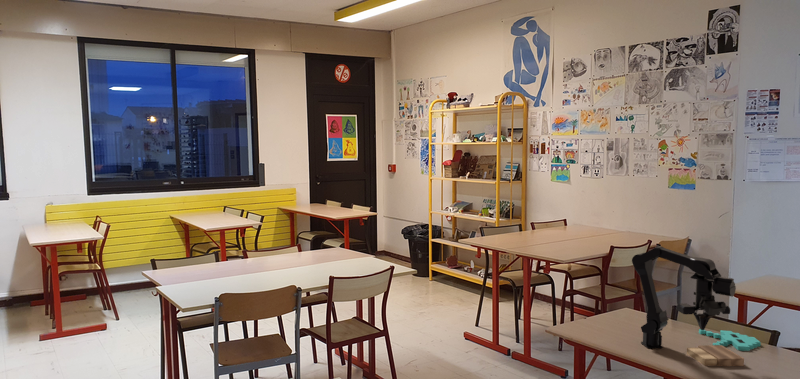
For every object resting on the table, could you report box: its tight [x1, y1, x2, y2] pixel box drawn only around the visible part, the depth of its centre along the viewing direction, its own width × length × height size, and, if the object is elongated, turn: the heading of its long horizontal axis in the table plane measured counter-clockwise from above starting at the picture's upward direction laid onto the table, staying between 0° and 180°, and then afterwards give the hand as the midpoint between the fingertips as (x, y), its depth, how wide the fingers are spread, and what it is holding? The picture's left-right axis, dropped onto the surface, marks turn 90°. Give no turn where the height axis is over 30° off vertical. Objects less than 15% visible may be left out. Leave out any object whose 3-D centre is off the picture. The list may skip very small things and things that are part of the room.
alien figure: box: [698, 328, 762, 352], centre depth 238 cm, size 20×2×20 cm
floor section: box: [697, 344, 745, 367], centre depth 219 cm, size 10×14×3 cm
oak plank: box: [686, 346, 718, 367], centre depth 218 cm, size 12×5×3 cm, turn 3°
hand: (702, 329), depth 218 cm, fingers closed
